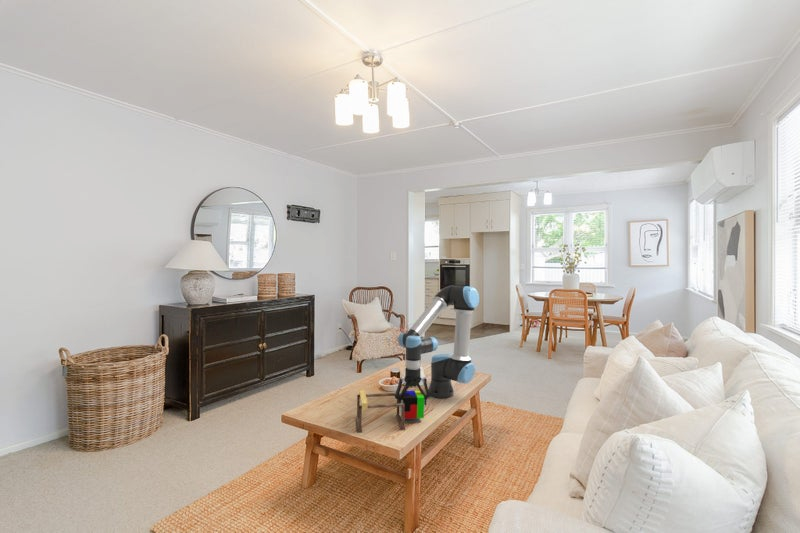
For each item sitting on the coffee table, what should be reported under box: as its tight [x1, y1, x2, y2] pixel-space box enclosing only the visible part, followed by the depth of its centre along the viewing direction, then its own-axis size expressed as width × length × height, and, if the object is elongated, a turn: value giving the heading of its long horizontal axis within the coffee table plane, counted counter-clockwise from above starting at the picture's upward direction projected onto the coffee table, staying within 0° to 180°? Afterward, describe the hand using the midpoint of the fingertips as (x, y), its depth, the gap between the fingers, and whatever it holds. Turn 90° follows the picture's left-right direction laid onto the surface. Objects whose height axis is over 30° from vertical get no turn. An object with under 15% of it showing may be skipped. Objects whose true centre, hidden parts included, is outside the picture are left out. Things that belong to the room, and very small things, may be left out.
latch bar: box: [359, 389, 369, 411], centre depth 183 cm, size 2×17×3 cm, turn 10°
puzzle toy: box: [402, 390, 425, 419], centre depth 190 cm, size 10×10×10 cm
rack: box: [355, 392, 406, 433], centre depth 184 cm, size 22×15×12 cm
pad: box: [404, 418, 422, 424], centre depth 190 cm, size 7×7×1 cm
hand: (412, 411), depth 190 cm, fingers closed on puzzle toy, 10 cm apart
